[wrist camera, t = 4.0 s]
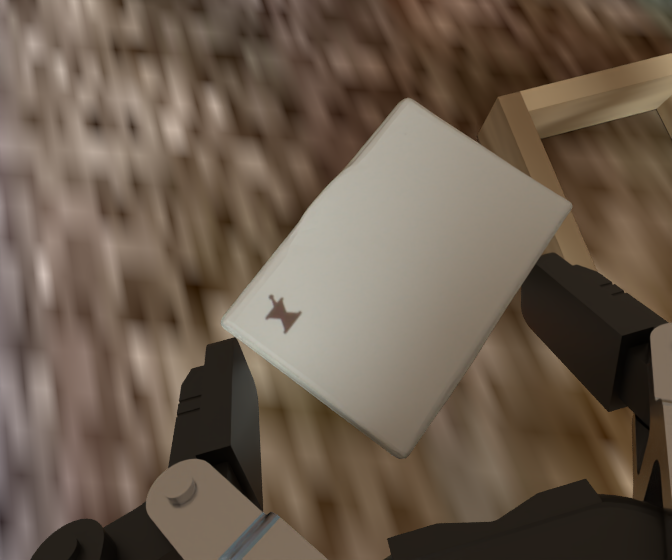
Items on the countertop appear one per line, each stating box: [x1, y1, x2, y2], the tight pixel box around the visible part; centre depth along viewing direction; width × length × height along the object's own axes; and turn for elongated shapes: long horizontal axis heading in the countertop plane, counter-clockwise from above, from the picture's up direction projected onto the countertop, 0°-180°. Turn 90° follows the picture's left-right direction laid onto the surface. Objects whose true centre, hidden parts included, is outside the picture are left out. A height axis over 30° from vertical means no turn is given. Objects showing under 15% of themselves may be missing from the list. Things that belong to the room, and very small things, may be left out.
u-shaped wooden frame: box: [477, 53, 672, 271], centre depth 20 cm, size 10×11×3 cm
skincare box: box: [221, 98, 572, 459], centre depth 14 cm, size 6×4×12 cm
